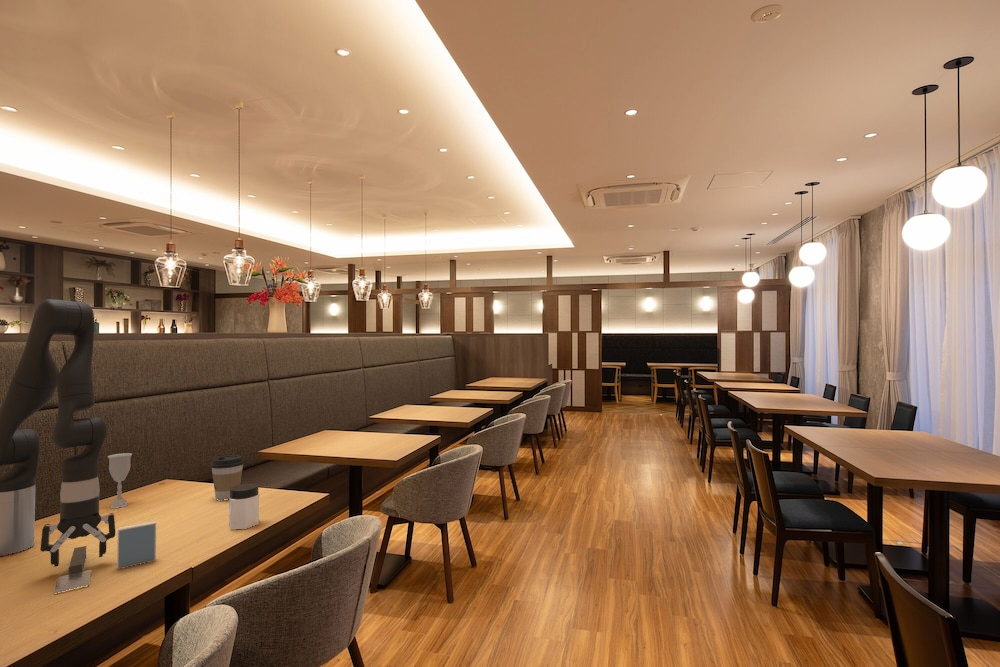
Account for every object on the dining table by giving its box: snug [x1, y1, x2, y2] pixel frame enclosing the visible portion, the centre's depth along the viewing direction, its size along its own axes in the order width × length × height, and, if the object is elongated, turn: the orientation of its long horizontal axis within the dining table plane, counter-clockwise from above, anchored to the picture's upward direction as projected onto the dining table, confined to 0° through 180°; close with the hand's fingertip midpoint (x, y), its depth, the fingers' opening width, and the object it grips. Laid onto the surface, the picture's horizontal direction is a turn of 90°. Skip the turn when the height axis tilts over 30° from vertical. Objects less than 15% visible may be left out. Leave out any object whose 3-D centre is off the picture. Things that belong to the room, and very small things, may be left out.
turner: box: [53, 545, 92, 593], centre depth 119 cm, size 22×6×3 cm, turn 38°
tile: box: [116, 520, 157, 569], centre depth 124 cm, size 8×2×10 cm, turn 127°
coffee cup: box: [209, 454, 245, 501], centre depth 179 cm, size 11×11×15 cm
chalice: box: [107, 452, 133, 509], centre depth 170 cm, size 7×7×18 cm
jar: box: [228, 483, 260, 531], centre depth 151 cm, size 9×8×12 cm
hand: (79, 560), depth 121 cm, fingers open, 8 cm apart
